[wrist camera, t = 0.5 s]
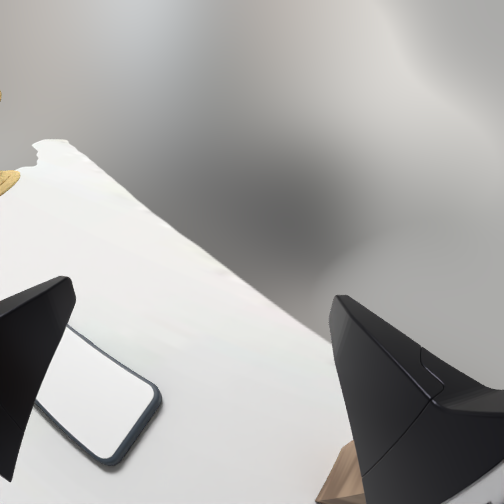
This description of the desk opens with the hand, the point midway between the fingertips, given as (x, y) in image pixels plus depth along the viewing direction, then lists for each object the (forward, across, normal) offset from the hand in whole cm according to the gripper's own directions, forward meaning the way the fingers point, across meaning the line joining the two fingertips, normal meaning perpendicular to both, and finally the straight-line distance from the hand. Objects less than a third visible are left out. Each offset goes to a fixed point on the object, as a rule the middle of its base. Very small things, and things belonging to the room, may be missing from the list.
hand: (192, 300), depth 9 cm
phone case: (+6, +13, +16) cm, 21 cm away
